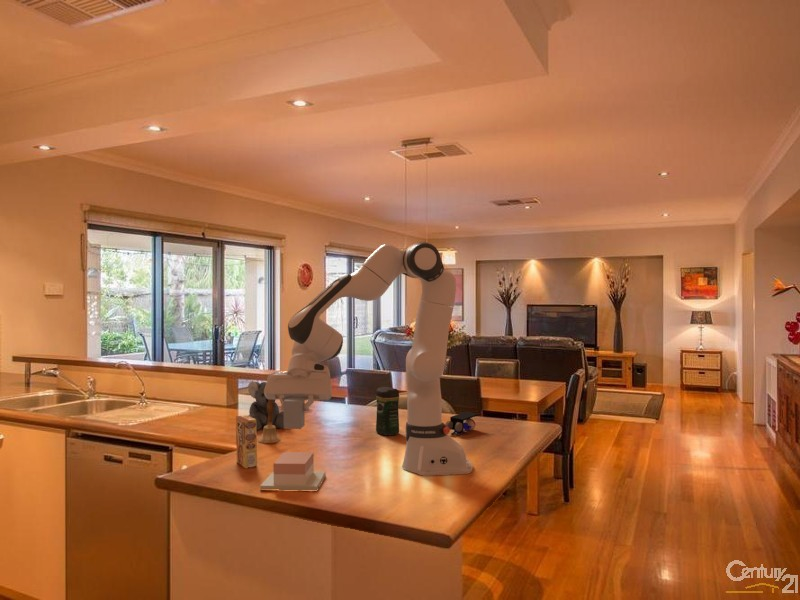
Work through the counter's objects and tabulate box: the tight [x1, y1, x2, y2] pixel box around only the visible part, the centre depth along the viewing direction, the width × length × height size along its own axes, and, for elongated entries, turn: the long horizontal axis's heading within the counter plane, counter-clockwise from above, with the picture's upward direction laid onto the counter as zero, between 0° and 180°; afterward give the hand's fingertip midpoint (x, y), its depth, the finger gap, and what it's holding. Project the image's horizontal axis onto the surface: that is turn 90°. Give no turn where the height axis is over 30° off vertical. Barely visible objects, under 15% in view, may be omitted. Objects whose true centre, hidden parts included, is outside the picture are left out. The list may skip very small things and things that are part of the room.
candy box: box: [235, 414, 258, 469], centre depth 186 cm, size 9×4×15 cm, turn 35°
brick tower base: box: [259, 451, 327, 491], centre depth 167 cm, size 16×14×8 cm
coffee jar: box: [375, 386, 400, 436], centre depth 229 cm, size 10×8×19 cm
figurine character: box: [445, 411, 479, 436], centre depth 231 cm, size 7×8×15 cm
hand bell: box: [257, 399, 281, 444], centre depth 217 cm, size 8×8×16 cm
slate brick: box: [283, 398, 306, 430], centre depth 168 cm, size 5×5×8 cm
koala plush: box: [247, 380, 284, 431], centre depth 243 cm, size 17×18×20 cm
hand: (294, 410), depth 168 cm, fingers closed on slate brick, 5 cm apart
